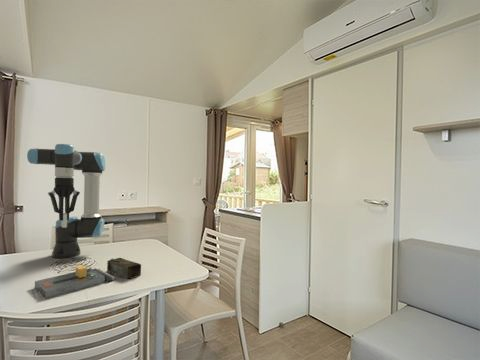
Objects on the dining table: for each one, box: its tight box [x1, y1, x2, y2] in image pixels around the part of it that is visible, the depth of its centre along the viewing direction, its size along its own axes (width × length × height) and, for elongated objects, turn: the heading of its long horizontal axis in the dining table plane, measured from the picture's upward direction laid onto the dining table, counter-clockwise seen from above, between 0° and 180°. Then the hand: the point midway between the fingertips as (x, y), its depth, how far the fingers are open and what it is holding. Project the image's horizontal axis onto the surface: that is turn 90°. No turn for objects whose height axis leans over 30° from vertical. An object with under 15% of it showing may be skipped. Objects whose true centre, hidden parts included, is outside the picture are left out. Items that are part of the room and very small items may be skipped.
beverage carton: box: [106, 257, 142, 280], centre depth 147 cm, size 8×19×7 cm, turn 55°
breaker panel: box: [34, 268, 106, 300], centre depth 130 cm, size 16×24×3 cm, turn 140°
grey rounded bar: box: [92, 268, 116, 282], centre depth 141 cm, size 17×4×2 cm, turn 50°
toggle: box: [75, 265, 88, 278], centre depth 134 cm, size 5×3×4 cm, turn 50°
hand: (64, 227), depth 133 cm, fingers closed
